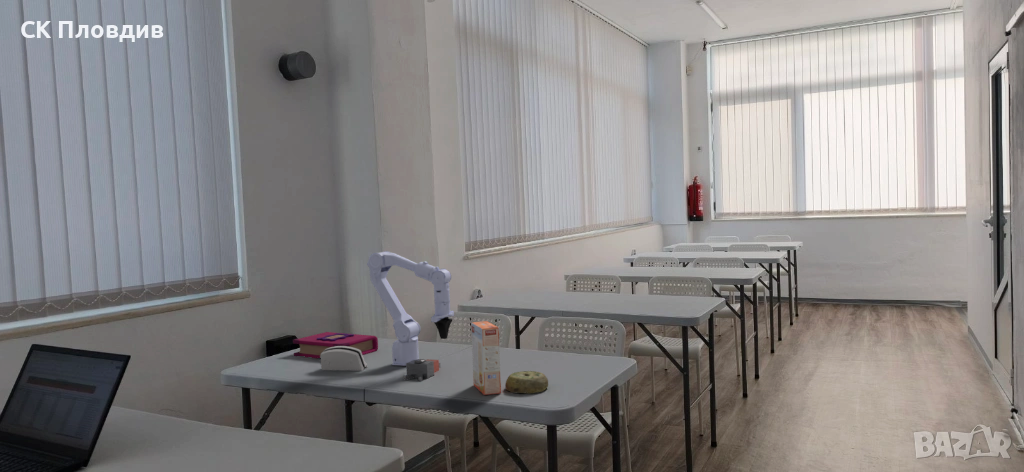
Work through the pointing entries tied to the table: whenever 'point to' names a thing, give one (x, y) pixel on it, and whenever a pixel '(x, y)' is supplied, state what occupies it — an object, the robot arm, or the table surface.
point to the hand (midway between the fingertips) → (443, 338)
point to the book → (335, 343)
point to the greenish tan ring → (526, 382)
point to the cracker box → (486, 357)
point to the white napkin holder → (342, 359)
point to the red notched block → (435, 364)
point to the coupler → (420, 369)
